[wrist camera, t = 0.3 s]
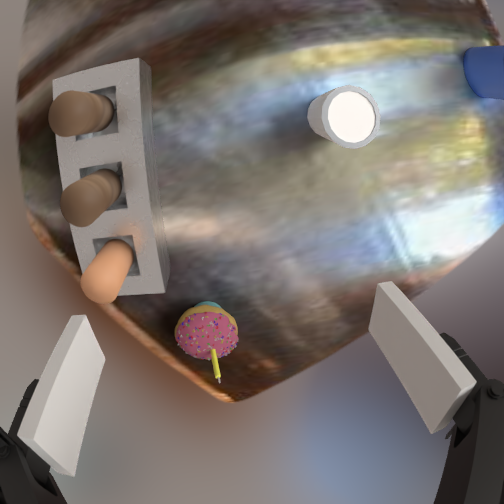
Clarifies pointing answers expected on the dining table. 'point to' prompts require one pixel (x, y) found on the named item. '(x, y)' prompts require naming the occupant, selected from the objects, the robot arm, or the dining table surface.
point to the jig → (120, 172)
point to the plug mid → (90, 197)
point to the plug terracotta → (107, 271)
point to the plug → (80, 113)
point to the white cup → (345, 116)
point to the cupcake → (207, 333)
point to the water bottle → (485, 71)
